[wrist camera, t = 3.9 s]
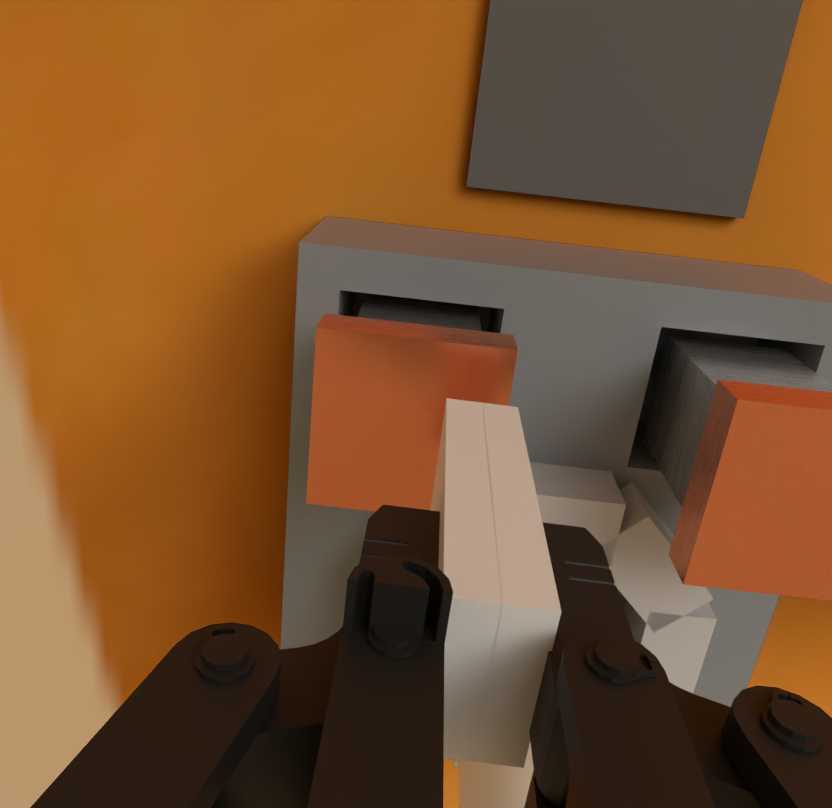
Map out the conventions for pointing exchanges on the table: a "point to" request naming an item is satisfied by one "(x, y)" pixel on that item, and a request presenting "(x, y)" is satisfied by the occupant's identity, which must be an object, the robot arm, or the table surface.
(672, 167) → the mat
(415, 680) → the robot arm
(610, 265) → the housing
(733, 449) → the plunger
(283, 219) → the table surface
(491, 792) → the cartridge
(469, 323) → the plunger
